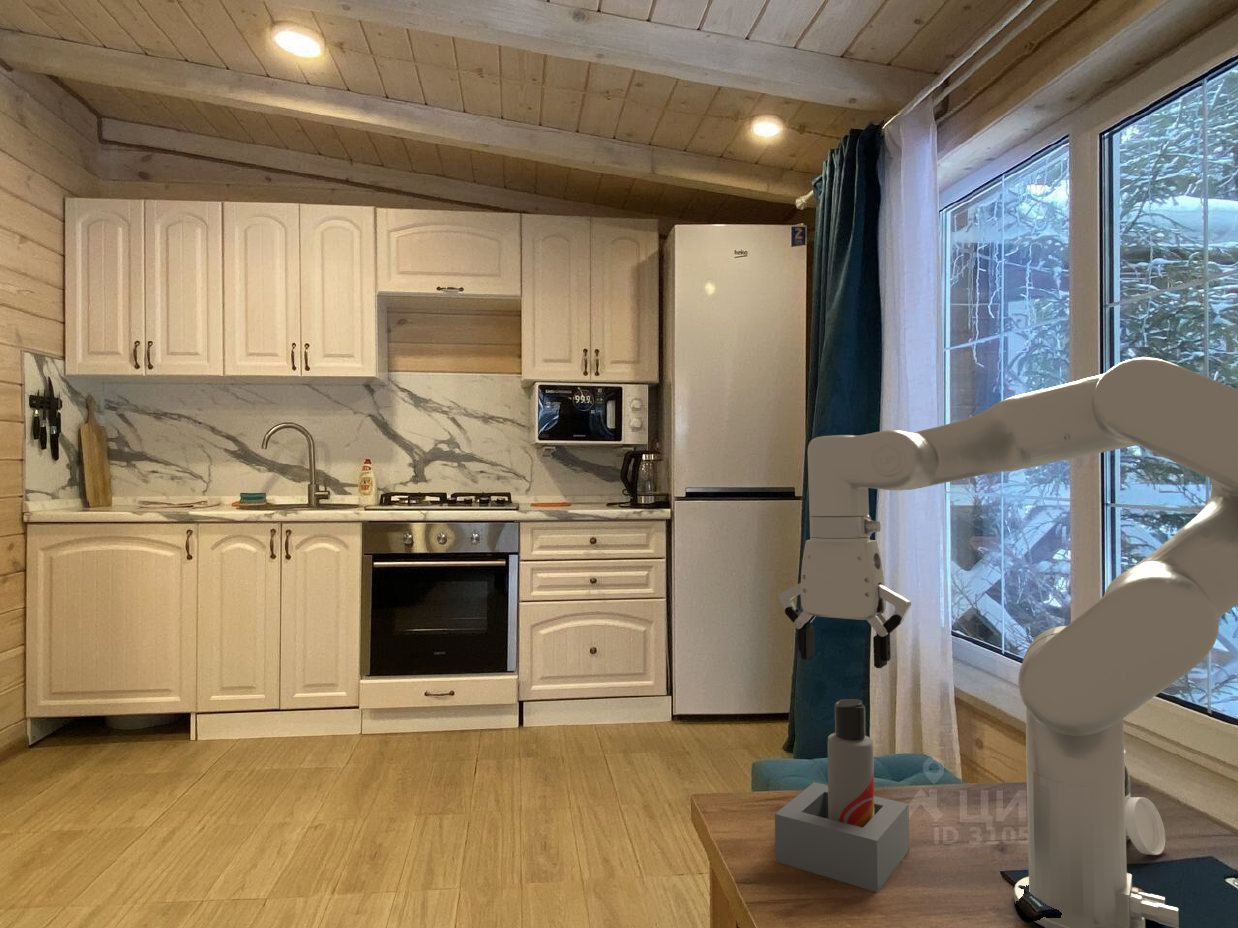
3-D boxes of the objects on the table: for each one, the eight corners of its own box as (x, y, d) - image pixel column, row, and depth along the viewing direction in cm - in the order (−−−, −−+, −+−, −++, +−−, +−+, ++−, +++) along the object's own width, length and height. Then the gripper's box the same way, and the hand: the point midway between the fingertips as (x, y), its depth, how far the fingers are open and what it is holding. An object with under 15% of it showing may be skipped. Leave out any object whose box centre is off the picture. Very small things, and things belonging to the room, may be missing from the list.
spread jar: (1066, 813, 113) (1064, 732, 113) (1161, 830, 107) (1159, 745, 107) (1065, 846, 103) (1063, 757, 103) (1169, 867, 97) (1167, 773, 97)
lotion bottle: (879, 867, 97) (877, 707, 97) (833, 866, 98) (831, 706, 98) (868, 846, 103) (866, 694, 103) (825, 845, 103) (823, 694, 104)
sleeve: (909, 849, 102) (908, 803, 102) (877, 892, 91) (876, 840, 91) (814, 824, 109) (814, 781, 110) (775, 861, 99) (774, 813, 99)
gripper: (915, 529, 99) (920, 663, 99) (789, 527, 110) (792, 649, 109) (898, 532, 93) (903, 675, 93) (766, 530, 104) (769, 659, 103)
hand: (843, 661), depth 101 cm, fingers open, 9 cm apart
